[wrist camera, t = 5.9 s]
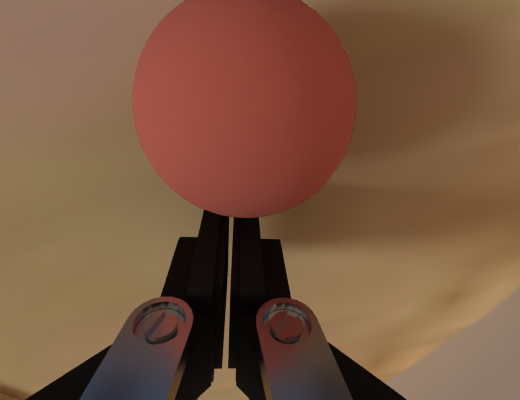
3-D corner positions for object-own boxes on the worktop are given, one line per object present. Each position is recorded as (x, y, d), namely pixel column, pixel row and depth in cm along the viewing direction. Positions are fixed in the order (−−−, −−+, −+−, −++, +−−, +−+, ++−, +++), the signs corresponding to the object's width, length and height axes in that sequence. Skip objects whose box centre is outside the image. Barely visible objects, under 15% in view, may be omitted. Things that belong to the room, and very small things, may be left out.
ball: (51, 155, 4) (125, -114, 5) (145, 225, 9) (171, 77, 10) (418, 195, 4) (399, -58, 6) (313, 239, 9) (316, 97, 10)
